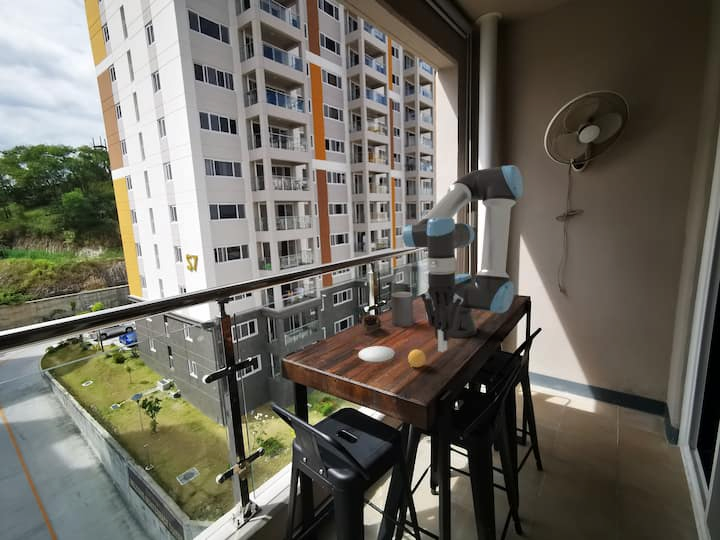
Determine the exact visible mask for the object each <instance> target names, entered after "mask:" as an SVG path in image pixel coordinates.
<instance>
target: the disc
mask: <svg viewBox="0 0 720 540" xmlns="http://www.w3.org/2000/svg"><path fill="white" fill-rule="evenodd" d="M395 354H396V352H395V350H394V349H392V348H391V347H388V346H384V345H383V346H382V345H376V346H375V345H374V346H369V347H364V348H363V349H361V350H360V351H359V352H358V354H357V355H358V358H359V359H361V360H362V361H365V362H369V363H379V362H386V361H389V360H390V359H392V358H394V356H395Z"/></svg>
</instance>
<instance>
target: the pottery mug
mask: <svg viewBox="0 0 720 540" xmlns="http://www.w3.org/2000/svg"><path fill="white" fill-rule="evenodd" d="M358 323H359V324H360V325H361V327H362V328H363V330H362V332H363V334H364V335H367V334H369V333H373V332H377V330H379V329H381V328H382V327H383V326H382V324H381V323H382V319H380V317H379V316H378V315H376V314H367V315H366V316H364V315H360V316H359V317H358Z"/></svg>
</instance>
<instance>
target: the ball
mask: <svg viewBox="0 0 720 540" xmlns="http://www.w3.org/2000/svg"><path fill="white" fill-rule="evenodd" d="M407 357H408V358H407V360H408V362H409V364H410V365H411V366H412V367H414V368H420V367H423V366H424V364H425V363H426V354H425V353H424V352H423V351H422V350H420V349H417V348H416V349H413V350H411V351H410V352H409V354H408V356H407Z"/></svg>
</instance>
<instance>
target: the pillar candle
mask: <svg viewBox="0 0 720 540" xmlns="http://www.w3.org/2000/svg"><path fill="white" fill-rule="evenodd" d="M413 295H414V294H413V293H412V292H407V291H396V292H392V293H391V294H390V297H391V300H390V301H391V319H392V322H391V324H392V326H394V327H396V328H397V327H398V328H407V327H411V326H413V324H414V303H413V302H414V301H413V300H414V296H413Z"/></svg>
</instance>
